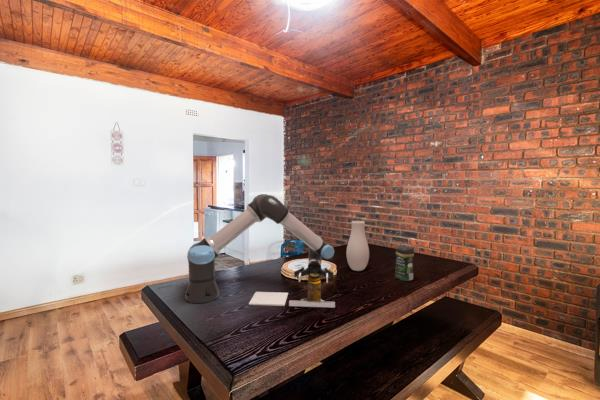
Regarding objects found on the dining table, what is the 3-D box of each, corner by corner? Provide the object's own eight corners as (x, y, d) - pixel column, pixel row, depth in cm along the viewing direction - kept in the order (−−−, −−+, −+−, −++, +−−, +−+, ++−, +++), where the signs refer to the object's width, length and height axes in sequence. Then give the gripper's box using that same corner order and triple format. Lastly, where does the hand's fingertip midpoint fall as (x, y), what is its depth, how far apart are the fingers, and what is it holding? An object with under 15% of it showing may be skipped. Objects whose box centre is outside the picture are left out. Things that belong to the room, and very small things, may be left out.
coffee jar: (392, 277, 170) (393, 245, 168) (402, 275, 173) (403, 243, 172) (405, 282, 161) (406, 248, 160) (415, 280, 164) (416, 247, 163)
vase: (341, 268, 187) (342, 220, 185) (359, 265, 193) (360, 219, 191) (354, 274, 175) (355, 223, 173) (373, 271, 180) (374, 222, 178)
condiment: (324, 301, 136) (324, 275, 135) (309, 305, 132) (309, 278, 131) (315, 296, 142) (315, 271, 142) (300, 300, 138) (300, 274, 137)
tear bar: (289, 306, 131) (289, 301, 131) (289, 304, 132) (289, 300, 132) (334, 307, 129) (334, 303, 129) (334, 306, 131) (334, 301, 131)
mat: (248, 304, 132) (248, 303, 132) (255, 292, 146) (255, 291, 146) (284, 305, 131) (284, 304, 131) (288, 293, 145) (288, 292, 145)
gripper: (336, 274, 166) (338, 287, 145) (292, 273, 168) (288, 286, 147) (336, 261, 166) (338, 272, 145) (292, 260, 168) (287, 271, 147)
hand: (313, 279), depth 146 cm, fingers open, 13 cm apart
